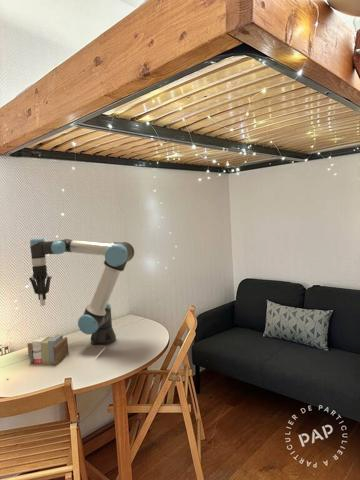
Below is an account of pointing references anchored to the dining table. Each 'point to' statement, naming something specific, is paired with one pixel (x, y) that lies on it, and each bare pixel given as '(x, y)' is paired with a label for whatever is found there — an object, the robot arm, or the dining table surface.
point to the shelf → (57, 350)
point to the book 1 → (45, 351)
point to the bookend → (31, 356)
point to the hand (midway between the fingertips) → (43, 305)
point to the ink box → (38, 349)
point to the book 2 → (51, 343)
